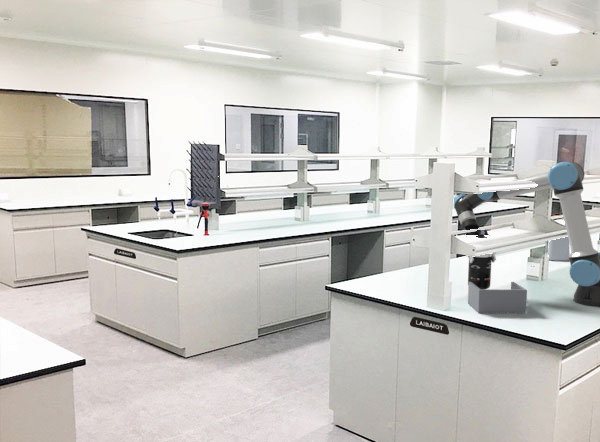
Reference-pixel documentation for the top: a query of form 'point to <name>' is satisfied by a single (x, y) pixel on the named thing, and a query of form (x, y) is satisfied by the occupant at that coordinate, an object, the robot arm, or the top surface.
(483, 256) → the silver and black canister
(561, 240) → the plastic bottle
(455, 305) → the top surface
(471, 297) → the box
